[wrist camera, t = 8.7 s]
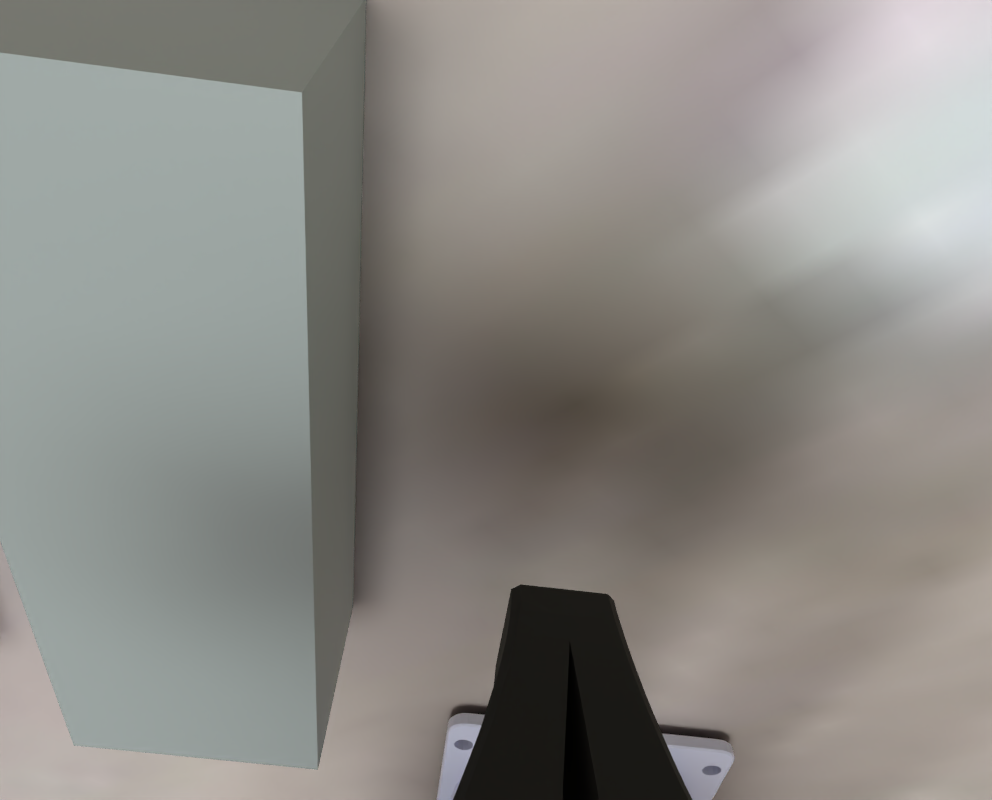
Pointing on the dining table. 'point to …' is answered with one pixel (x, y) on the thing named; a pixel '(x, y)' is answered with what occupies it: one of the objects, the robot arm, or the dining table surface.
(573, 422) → the dining table surface
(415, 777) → the dining table surface
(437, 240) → the dining table surface
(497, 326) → the dining table surface
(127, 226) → the tongue plank
